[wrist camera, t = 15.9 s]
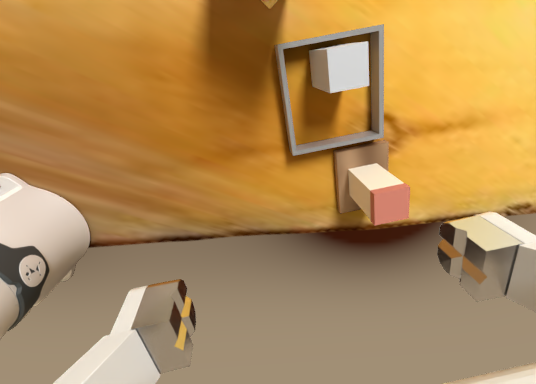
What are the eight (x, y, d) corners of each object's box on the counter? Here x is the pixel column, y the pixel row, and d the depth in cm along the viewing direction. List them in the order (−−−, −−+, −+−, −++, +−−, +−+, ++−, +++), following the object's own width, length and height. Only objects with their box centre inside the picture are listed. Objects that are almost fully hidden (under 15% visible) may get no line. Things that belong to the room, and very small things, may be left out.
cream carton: (349, 195, 46) (374, 225, 38) (347, 168, 44) (374, 194, 36) (377, 189, 46) (408, 218, 38) (377, 162, 44) (410, 186, 36)
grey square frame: (289, 150, 43) (292, 155, 41) (274, 45, 37) (277, 44, 35) (375, 133, 44) (383, 137, 41) (374, 26, 37) (383, 24, 35)
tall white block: (312, 86, 40) (330, 93, 33) (308, 50, 38) (326, 49, 31) (344, 80, 40) (369, 85, 33) (342, 44, 38) (368, 41, 31)
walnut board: (338, 210, 49) (340, 213, 48) (333, 150, 44) (336, 152, 43) (384, 200, 49) (387, 203, 48) (384, 140, 44) (388, 142, 43)
